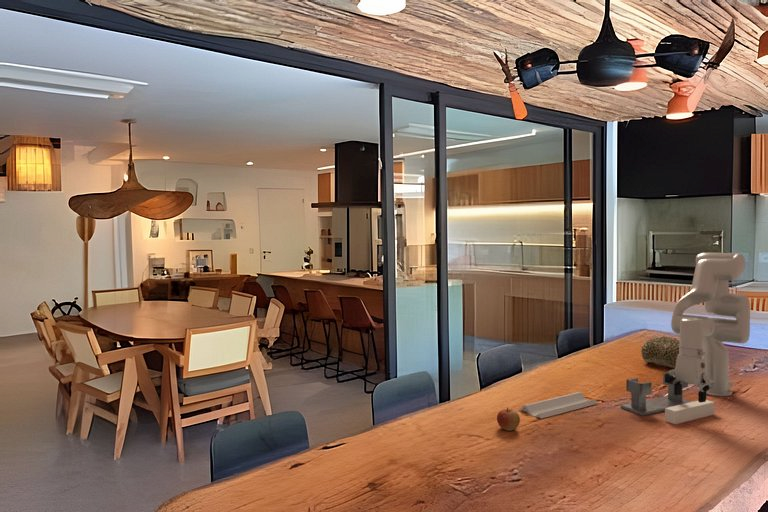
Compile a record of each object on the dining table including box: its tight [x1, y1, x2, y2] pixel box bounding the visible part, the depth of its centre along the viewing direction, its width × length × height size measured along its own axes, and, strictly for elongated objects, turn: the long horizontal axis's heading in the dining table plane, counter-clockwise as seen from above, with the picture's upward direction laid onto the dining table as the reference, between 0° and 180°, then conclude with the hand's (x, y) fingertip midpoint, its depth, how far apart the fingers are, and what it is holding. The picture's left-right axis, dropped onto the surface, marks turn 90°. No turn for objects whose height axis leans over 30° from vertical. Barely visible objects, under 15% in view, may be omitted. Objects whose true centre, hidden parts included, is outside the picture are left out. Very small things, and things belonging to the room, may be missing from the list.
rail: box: [664, 399, 715, 425], centre depth 204 cm, size 22×4×5 cm, turn 116°
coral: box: [640, 335, 680, 369], centre depth 278 cm, size 23×18×15 cm
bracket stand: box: [620, 372, 693, 417], centre depth 216 cm, size 28×10×12 cm, turn 114°
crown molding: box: [518, 391, 598, 419], centre depth 217 cm, size 31×12×4 cm, turn 121°
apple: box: [496, 407, 521, 432], centre depth 194 cm, size 8×8×8 cm
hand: (689, 398), depth 203 cm, fingers open, 9 cm apart
